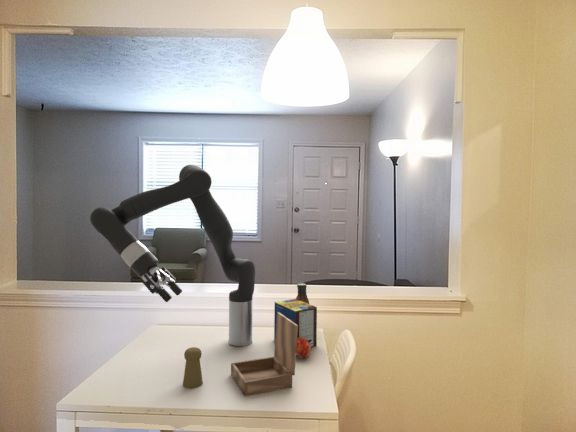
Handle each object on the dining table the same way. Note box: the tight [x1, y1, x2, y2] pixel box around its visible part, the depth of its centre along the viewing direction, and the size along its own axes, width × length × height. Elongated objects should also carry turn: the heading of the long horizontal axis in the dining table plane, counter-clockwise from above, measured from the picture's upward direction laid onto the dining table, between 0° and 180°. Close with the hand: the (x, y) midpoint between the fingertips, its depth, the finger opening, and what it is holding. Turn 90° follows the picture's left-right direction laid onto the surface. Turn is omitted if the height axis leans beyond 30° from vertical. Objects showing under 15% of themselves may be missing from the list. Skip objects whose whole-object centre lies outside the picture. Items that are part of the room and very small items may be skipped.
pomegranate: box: [296, 337, 313, 359], centre depth 149 cm, size 7×7×10 cm
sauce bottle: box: [295, 283, 310, 304], centre depth 180 cm, size 6×6×20 cm
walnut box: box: [230, 356, 293, 397], centre depth 129 cm, size 15×15×4 cm
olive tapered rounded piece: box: [182, 346, 204, 389], centre depth 127 cm, size 6×6×11 cm
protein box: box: [273, 298, 318, 348], centre depth 163 cm, size 10×15×16 cm
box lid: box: [273, 312, 298, 377], centre depth 132 cm, size 15×16×1 cm
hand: (175, 296), depth 128 cm, fingers open, 8 cm apart
